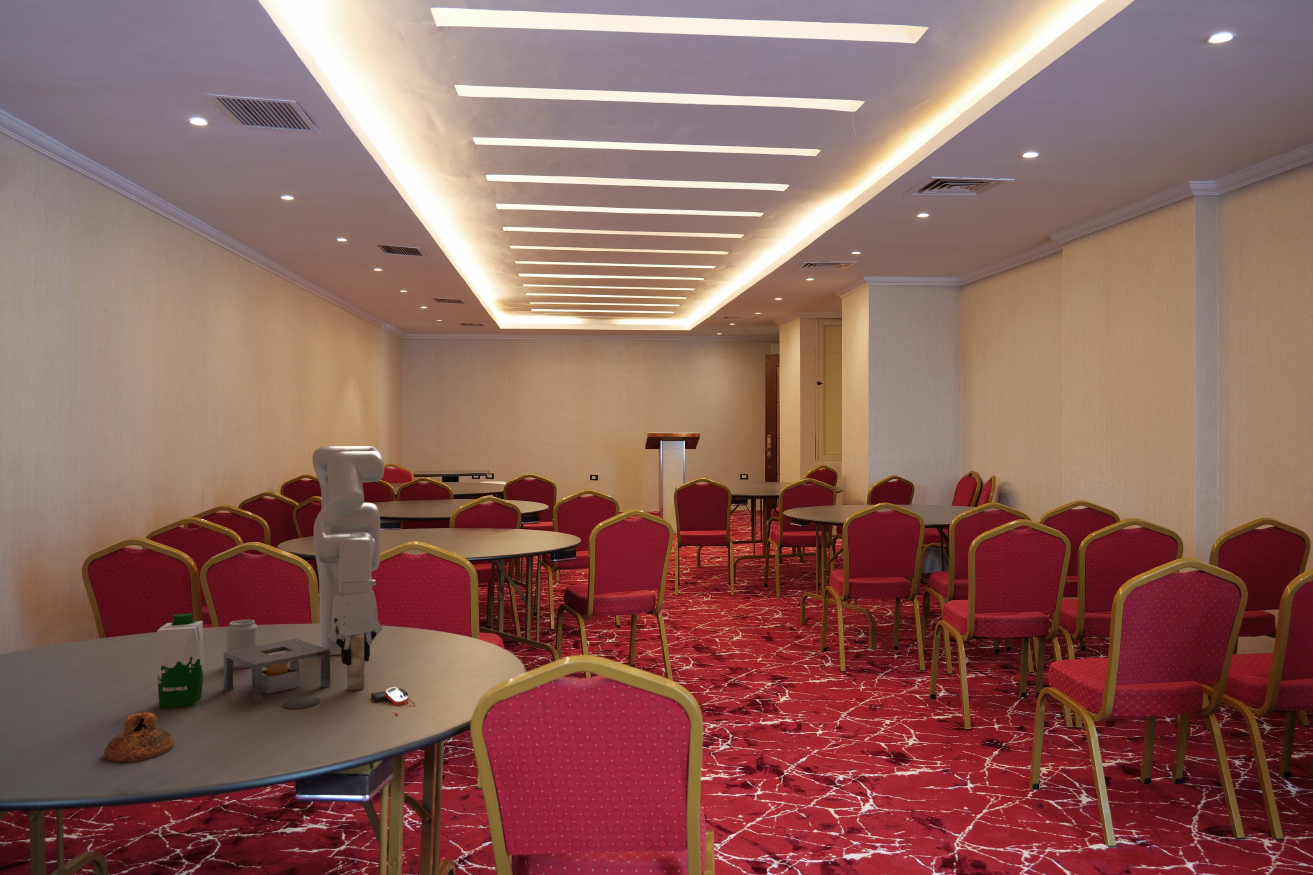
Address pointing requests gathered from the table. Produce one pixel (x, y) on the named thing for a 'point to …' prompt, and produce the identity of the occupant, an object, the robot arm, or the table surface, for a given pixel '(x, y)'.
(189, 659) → the milk carton
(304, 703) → the coaster
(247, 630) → the can
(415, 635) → the table surface
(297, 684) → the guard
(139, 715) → the brown rounded piece
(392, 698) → the multimeter
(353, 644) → the dowel
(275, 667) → the orange-brown round lump
